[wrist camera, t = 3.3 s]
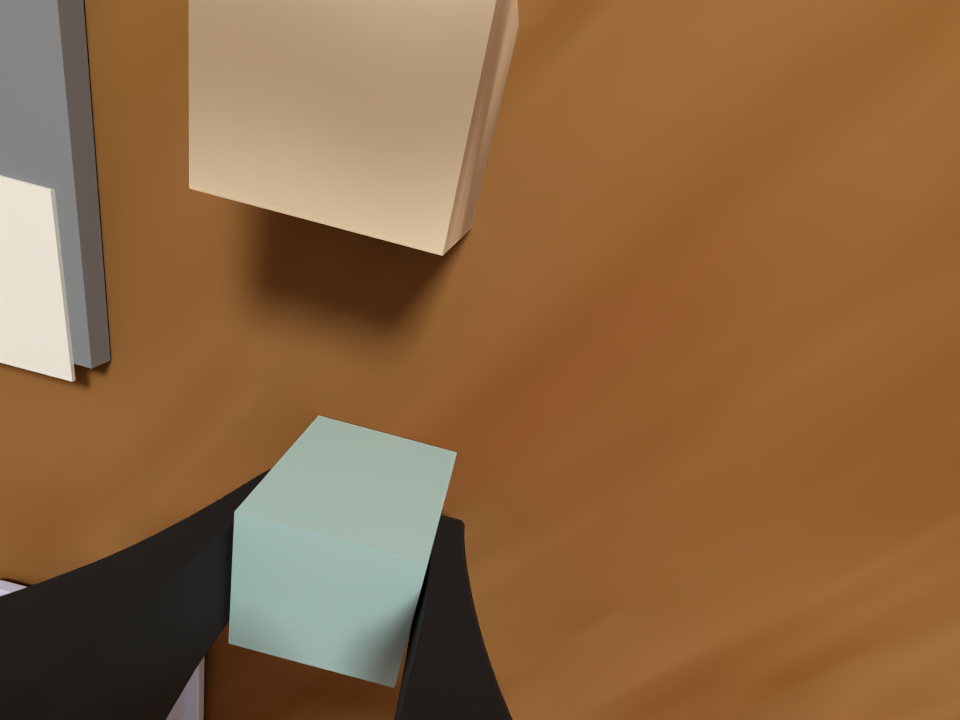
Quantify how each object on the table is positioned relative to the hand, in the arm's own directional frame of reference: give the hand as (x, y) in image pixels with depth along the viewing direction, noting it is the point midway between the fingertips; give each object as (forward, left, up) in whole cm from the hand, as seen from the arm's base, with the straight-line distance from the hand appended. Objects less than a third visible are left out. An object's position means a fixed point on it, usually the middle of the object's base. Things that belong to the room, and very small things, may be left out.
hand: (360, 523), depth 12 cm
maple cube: (+10, +1, -2) cm, 10 cm away
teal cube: (0, 0, -1) cm, 1 cm away
